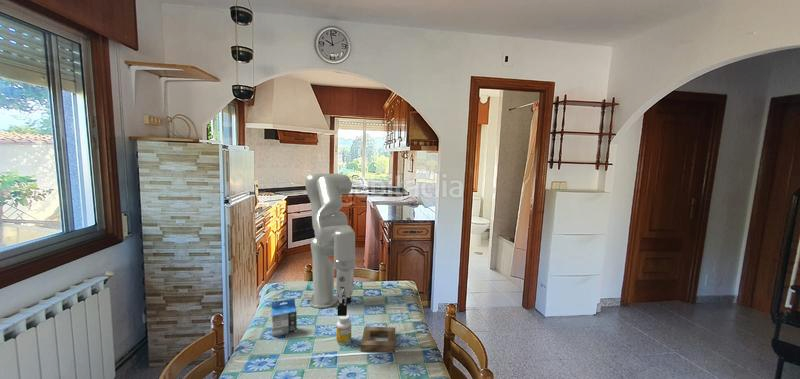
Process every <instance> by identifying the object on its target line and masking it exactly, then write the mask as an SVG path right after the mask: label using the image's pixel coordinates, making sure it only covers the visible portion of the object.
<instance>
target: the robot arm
mask: <svg viewBox="0 0 800 379" xmlns="http://www.w3.org/2000/svg"><path fill="white" fill-rule="evenodd" d="M304 181H305V182H304V184H305V191H306V194H307V197H308V200H309V201H310V206H311V209H310V210H311V221H312V222H311V224H312V229H313V231H314V237H313V238H312V240H310V251H311V257H312V258H311V259H312V260H311V261H312V291H311V292H304V293H303V297H304V299H307V300H308V299H309V305H310V306H311V307H312V308H317V309H326V308H330V307H333V306H335V305H337V316H338V317H339V316H346V315H347V314H348V305H351V304H352V294H353V292H354V288H355V286H354V284H355V283H354V282H355V281H354V278H355V277H354V269H355V268H356V232H355V230H354V229H353V228H352V226H351V225H348V224H349V223H348V218H347V215H346V213H345V212H344V211H340V210H341V209H342V208H343V200H342V197H341V195H348V194H350V193H351V192H352V188H353V187H352V186H353V184H352V180H351V178H350V177H349V176H348V175H347V174H343V173H311V174H308V175H307V176H306V178H305V180H304ZM332 256H333V261H332V260H331V259H330V258H329V257H332ZM335 271H336V288H335ZM335 289H336V291H335ZM335 292H336V295H335Z"/></svg>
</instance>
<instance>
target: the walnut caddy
mask: <svg viewBox="0 0 800 379" xmlns="http://www.w3.org/2000/svg"><path fill="white" fill-rule="evenodd" d="M376 337H377V338H387V340H371V338H376ZM361 338H362V339H361V343H360V352H369V353H371V352H377V353H395V351H396V350H395V349H396V347H395V346H396V327H388V326H385V327H384V326H364V328H363V333H362V337H361Z"/></svg>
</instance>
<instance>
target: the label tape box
mask: <svg viewBox="0 0 800 379" xmlns="http://www.w3.org/2000/svg"><path fill="white" fill-rule="evenodd" d="M270 312H271V334H272V338H273V337H274V338H275V337H279V336H282V335H283V336H284V335H288V334H292V333H297V330H298V327H297V317H298V316H297V312H298V311H297V308H296V298H295V297H294V298H289V299H284V300H278V301H277V300H276V301H272V302H271V309H270Z"/></svg>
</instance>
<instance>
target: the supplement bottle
mask: <svg viewBox="0 0 800 379" xmlns="http://www.w3.org/2000/svg"><path fill="white" fill-rule="evenodd" d="M351 341H352V321H351V319H350V315H349V314H348V313H347V315H346V316H338V321H337V322H336V342H337V344H338V345H341V346H346V345H348V344H350V343H351Z"/></svg>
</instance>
